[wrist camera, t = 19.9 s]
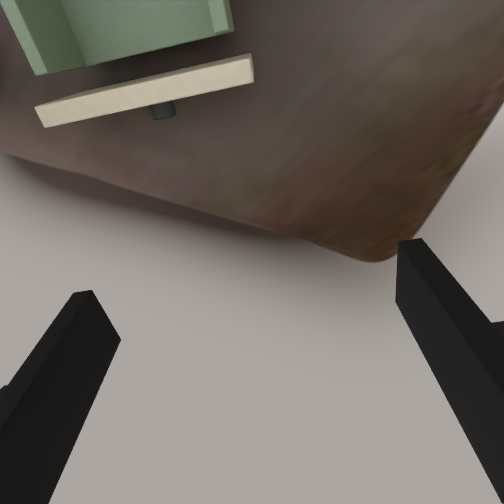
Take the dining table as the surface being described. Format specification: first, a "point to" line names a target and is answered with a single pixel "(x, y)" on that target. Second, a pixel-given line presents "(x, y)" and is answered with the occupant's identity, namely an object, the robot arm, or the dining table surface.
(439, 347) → the robot arm
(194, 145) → the dining table surface
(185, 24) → the drawer
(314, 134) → the dining table surface
